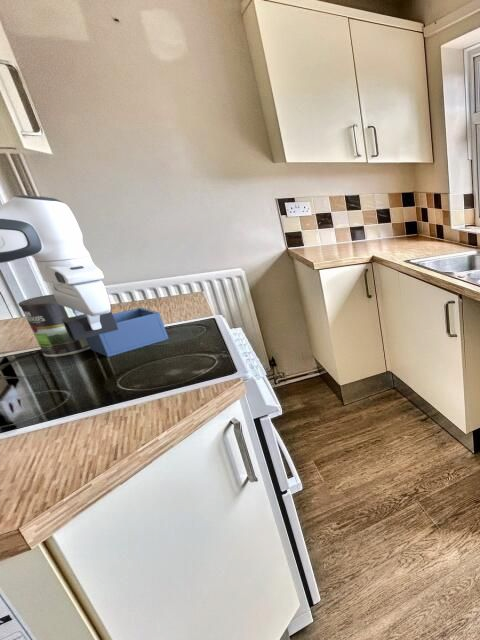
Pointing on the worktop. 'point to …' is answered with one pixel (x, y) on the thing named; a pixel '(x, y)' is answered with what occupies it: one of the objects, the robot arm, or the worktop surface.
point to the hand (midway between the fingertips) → (91, 327)
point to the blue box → (130, 332)
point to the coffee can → (51, 326)
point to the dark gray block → (81, 329)
